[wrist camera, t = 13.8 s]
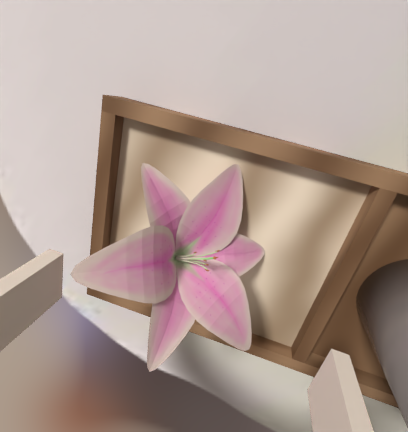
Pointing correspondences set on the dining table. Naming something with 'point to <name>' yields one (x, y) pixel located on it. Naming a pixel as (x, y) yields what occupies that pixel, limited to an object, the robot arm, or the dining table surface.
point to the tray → (266, 227)
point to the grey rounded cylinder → (388, 324)
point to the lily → (182, 263)
